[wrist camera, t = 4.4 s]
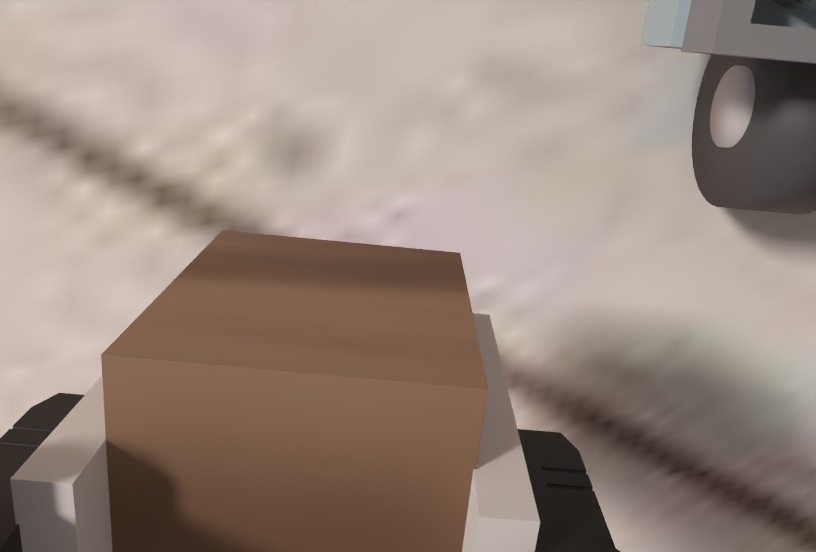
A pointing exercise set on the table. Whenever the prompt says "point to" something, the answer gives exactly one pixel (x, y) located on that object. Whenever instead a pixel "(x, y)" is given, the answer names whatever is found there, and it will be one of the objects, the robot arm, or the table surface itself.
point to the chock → (297, 402)
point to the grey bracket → (748, 99)
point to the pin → (798, 4)
